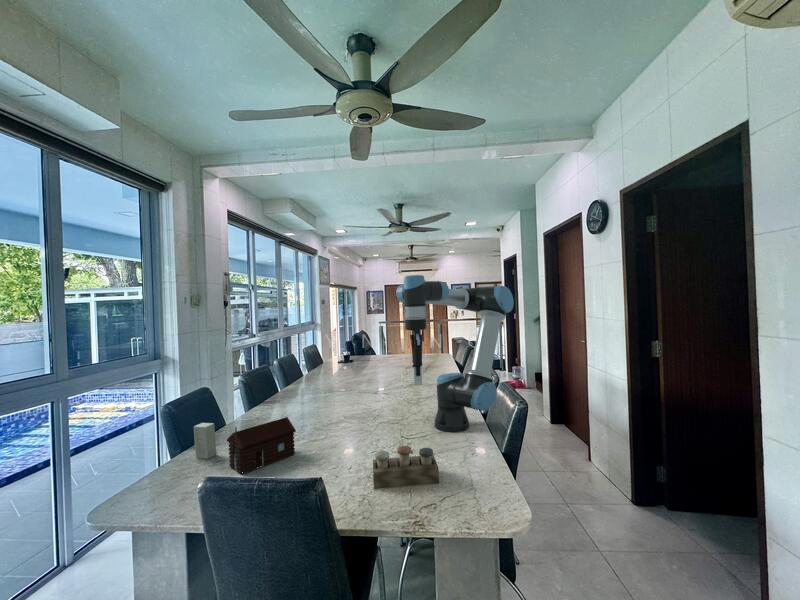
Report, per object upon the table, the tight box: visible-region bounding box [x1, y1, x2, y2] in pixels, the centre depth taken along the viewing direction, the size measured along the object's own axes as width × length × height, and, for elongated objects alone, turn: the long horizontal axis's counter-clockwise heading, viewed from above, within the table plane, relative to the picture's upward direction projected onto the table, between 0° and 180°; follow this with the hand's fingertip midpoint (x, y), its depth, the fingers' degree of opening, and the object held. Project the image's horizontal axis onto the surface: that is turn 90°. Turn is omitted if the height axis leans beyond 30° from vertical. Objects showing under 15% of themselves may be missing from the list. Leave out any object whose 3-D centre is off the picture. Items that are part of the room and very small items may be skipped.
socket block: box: [372, 454, 440, 490], centre depth 115 cm, size 20×9×5 cm, turn 95°
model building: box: [226, 416, 297, 474], centre depth 133 cm, size 21×12×15 cm, turn 137°
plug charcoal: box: [418, 447, 434, 465], centre depth 116 cm, size 4×4×8 cm
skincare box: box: [193, 422, 217, 460], centre depth 139 cm, size 6×4×12 cm
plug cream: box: [374, 450, 390, 468], centre depth 115 cm, size 4×4×8 cm
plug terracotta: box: [396, 445, 412, 467], centre depth 115 cm, size 4×4×8 cm
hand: (418, 384), depth 130 cm, fingers closed
